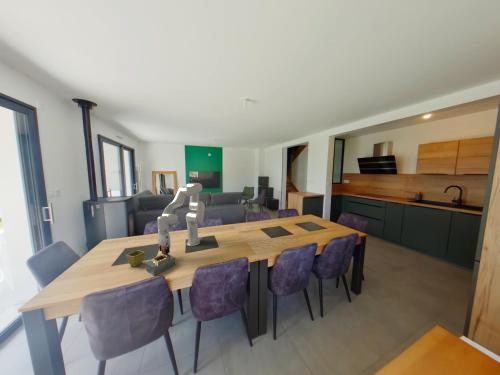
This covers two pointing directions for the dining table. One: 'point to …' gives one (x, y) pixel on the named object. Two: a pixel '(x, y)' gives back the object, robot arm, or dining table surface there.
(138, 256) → the flower pot
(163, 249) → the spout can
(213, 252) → the dining table surface
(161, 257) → the grey box with hole
